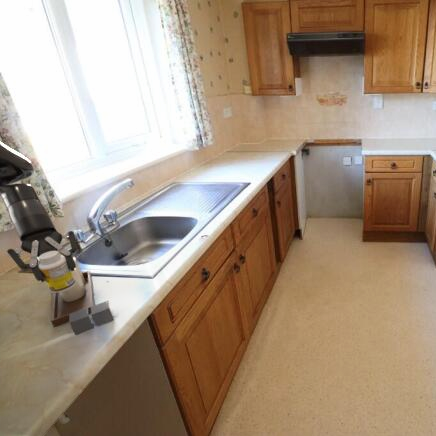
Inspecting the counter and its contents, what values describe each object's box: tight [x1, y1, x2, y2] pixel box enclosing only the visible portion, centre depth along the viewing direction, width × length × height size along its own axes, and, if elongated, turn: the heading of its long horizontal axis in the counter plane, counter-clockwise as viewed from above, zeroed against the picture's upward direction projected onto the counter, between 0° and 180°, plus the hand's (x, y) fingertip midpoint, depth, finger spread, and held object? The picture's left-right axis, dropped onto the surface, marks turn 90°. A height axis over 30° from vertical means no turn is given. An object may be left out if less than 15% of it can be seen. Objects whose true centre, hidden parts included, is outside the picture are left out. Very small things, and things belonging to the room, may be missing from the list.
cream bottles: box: [59, 254, 86, 302], centre depth 96 cm, size 6×12×10 cm, turn 36°
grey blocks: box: [68, 300, 115, 336], centre depth 85 cm, size 9×4×4 cm, turn 126°
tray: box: [50, 270, 96, 328], centre depth 94 cm, size 9×22×3 cm, turn 36°
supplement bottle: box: [38, 251, 76, 293], centre depth 84 cm, size 6×6×10 cm
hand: (58, 274), depth 83 cm, fingers closed on supplement bottle, 5 cm apart
